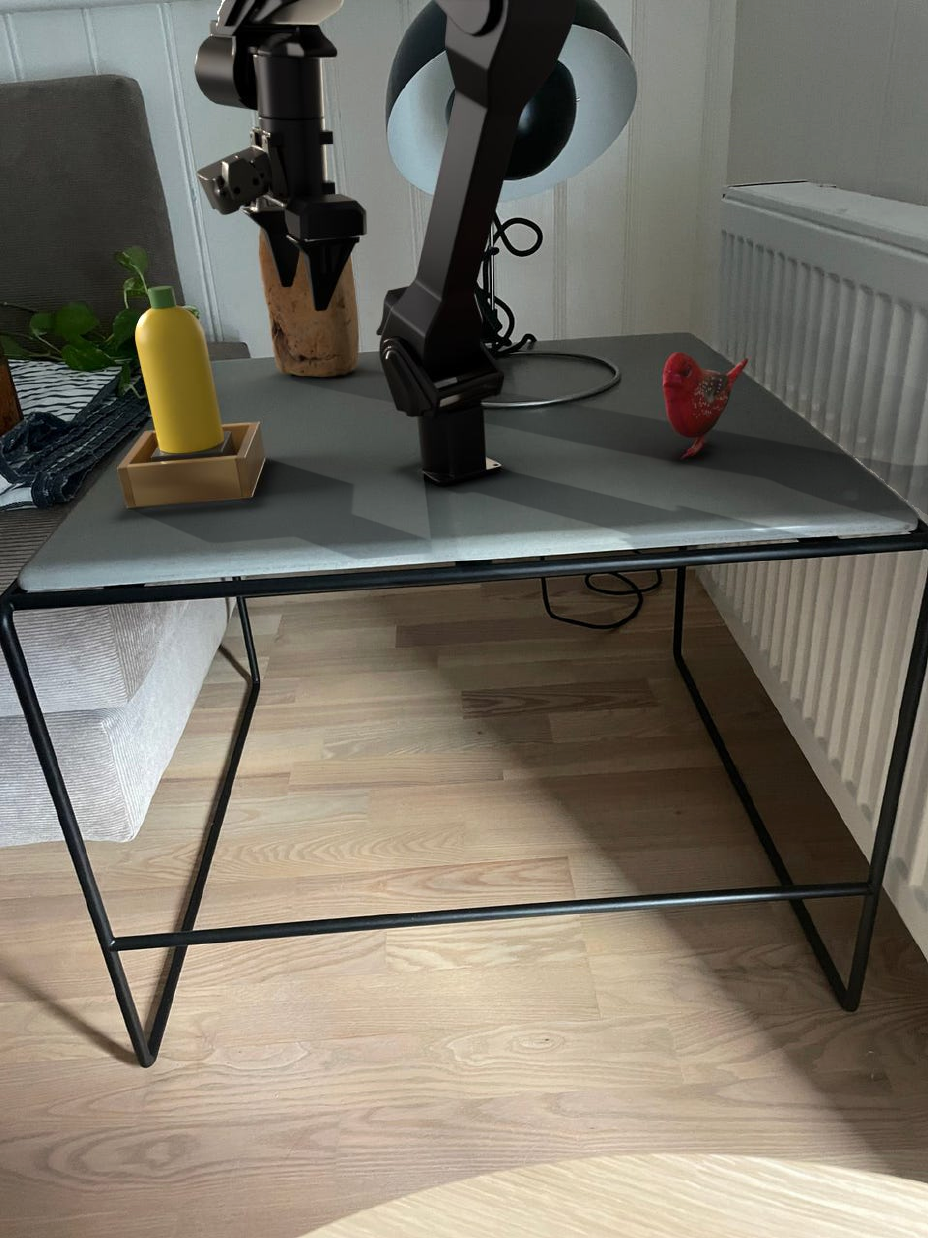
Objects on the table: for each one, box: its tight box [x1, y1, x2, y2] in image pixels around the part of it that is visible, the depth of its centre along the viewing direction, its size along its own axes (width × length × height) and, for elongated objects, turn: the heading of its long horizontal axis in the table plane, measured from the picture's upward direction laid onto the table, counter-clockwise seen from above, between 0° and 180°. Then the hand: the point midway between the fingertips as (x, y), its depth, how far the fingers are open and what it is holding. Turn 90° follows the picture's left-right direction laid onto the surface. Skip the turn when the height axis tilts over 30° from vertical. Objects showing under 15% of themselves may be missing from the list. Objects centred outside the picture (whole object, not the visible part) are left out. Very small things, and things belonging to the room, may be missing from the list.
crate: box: [116, 421, 266, 509], centre depth 84 cm, size 11×11×4 cm
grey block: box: [151, 431, 236, 462], centre depth 84 cm, size 6×6×4 cm
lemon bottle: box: [134, 285, 224, 453], centre depth 80 cm, size 6×6×13 cm
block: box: [258, 227, 360, 378], centre depth 117 cm, size 11×8×20 cm
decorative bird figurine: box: [662, 351, 749, 460], centre depth 84 cm, size 3×18×10 cm, turn 143°
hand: (303, 298), depth 91 cm, fingers open, 9 cm apart
